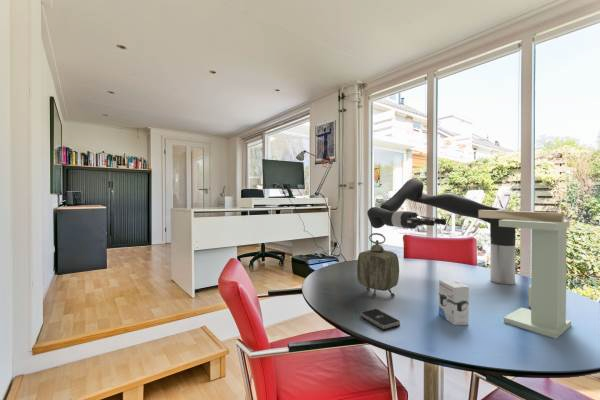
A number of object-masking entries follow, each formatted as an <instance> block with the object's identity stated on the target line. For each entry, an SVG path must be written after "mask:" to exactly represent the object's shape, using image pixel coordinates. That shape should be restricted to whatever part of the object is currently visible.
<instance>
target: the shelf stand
mask: <svg viewBox="0 0 600 400" xmlns="http://www.w3.org/2000/svg"><path fill="white" fill-rule="evenodd" d="M570 221H571V220H565V219H564V222H547V221H530V220H513V219H504V220H499V226H501V227H514V228H515V229H516V228H517V229H527V230H529V229H530V230H531V259H530V260H531V273H530V274H531V275H530V276H531V277H530V279H531V280H530V281H531V282H530V285H531V307H530V308H529V309H528V308H524V307H519V308H518V309H516V310H514V311H512V312H511V313H509V314H507V315H505V316H504V317H503V323H506V324H508V325H512V326H515V327H517V328H521V329H525V330H527V331H530V332H533V333H536V334H540V335H544V336H546V337H549V338H553V339H557V338H558V337H560V336H561V335H562V334H563V333H564V332H566V331H567V330H568V329H570V327H572V320H569V319H567V313H566V312H567V241H568V240H567V238H568V237H567V236H568V235H567V233H568V232H567V231H568V230H567V229H568V228H571V223H570Z"/></svg>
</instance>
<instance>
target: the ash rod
mask: <svg viewBox="0 0 600 400" xmlns="http://www.w3.org/2000/svg"><path fill="white" fill-rule="evenodd" d="M478 218H495V219H513V220H530V221H547V222H564V220H565V213H564V212H553V211H552V212H548V211H547V212H546V211H521V210H520V211H518V210H509V211H497V210H479V213H478Z"/></svg>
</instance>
